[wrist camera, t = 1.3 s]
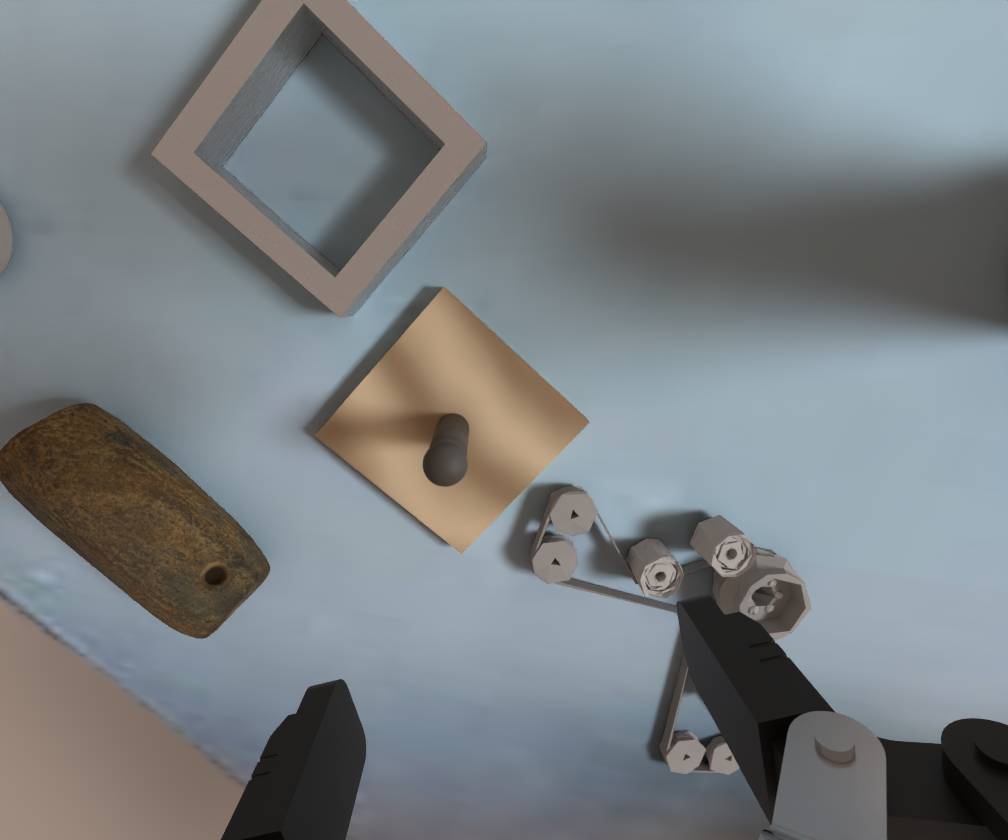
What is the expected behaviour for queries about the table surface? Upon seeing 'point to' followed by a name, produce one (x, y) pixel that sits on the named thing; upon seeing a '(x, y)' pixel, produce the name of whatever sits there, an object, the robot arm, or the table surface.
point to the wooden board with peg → (452, 423)
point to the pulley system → (736, 587)
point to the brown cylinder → (134, 517)
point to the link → (247, 93)
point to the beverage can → (5, 239)
